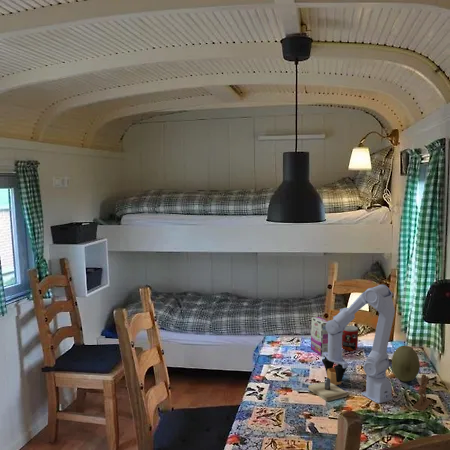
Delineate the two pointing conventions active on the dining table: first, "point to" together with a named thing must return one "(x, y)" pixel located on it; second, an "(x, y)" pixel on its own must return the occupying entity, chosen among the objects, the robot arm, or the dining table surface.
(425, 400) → the brown figurine
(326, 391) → the base block
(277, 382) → the dining table surface
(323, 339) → the candy bar box
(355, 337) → the canned food
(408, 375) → the fruit
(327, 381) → the post
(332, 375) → the collar
